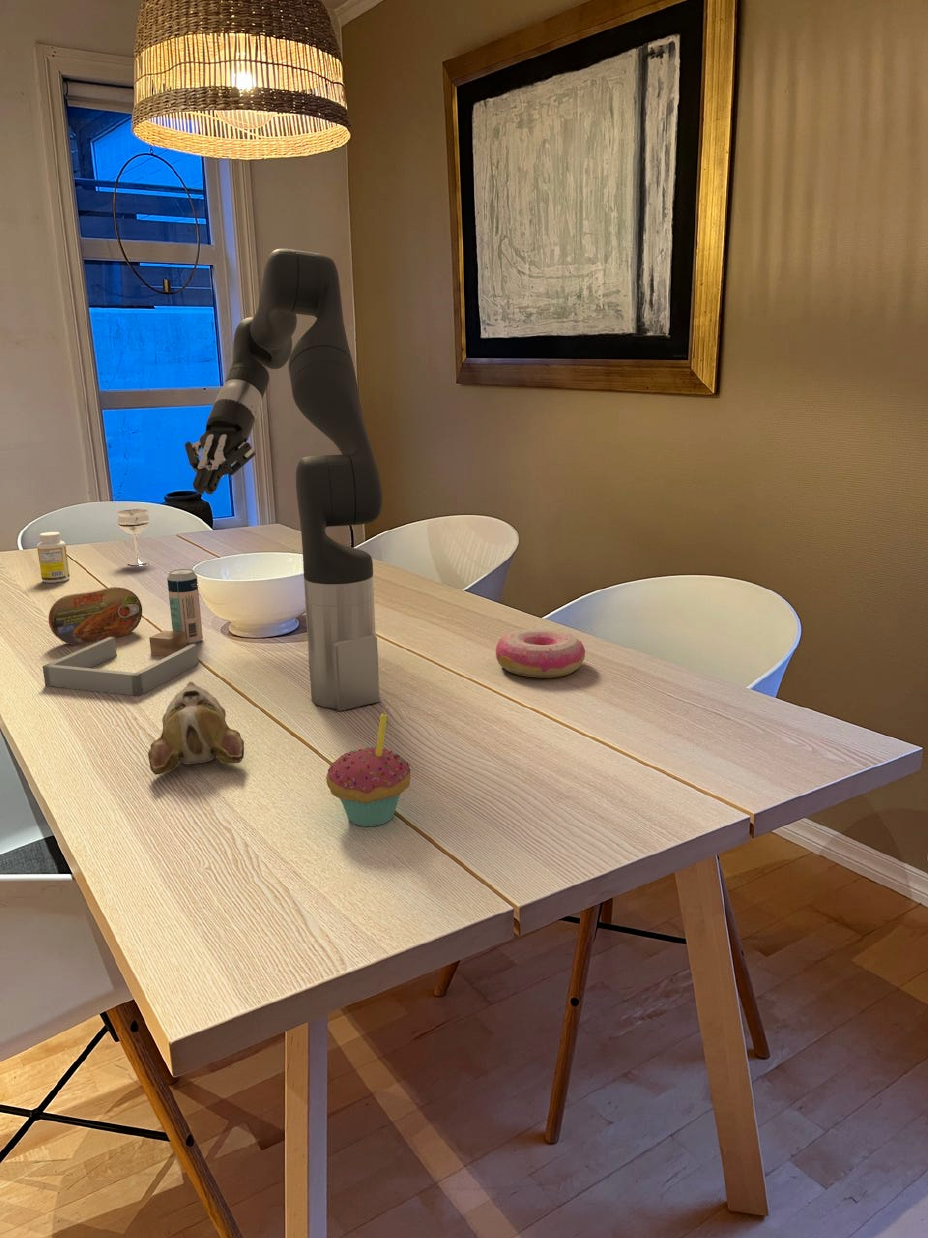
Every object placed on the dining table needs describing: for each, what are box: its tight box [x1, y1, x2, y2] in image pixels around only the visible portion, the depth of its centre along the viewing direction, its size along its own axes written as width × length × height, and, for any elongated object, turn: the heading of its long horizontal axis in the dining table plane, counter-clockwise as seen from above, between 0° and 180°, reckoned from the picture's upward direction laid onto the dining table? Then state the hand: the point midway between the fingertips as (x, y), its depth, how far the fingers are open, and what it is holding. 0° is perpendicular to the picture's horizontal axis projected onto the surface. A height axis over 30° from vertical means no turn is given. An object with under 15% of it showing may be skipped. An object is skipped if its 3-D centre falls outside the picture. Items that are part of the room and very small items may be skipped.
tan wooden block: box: [148, 629, 188, 657], centre depth 152 cm, size 4×4×3 cm
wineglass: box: [117, 508, 150, 564], centre depth 216 cm, size 7×7×12 cm
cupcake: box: [325, 706, 411, 827], centre depth 96 cm, size 9×8×12 cm
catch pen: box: [42, 637, 200, 697], centre depth 141 cm, size 15×16×3 cm
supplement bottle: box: [36, 531, 71, 584], centre depth 200 cm, size 6×6×10 cm
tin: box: [48, 586, 143, 646], centre depth 159 cm, size 15×3×8 cm, turn 129°
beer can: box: [166, 568, 204, 646], centre depth 156 cm, size 5×5×12 cm
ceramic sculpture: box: [147, 681, 245, 776], centre depth 111 cm, size 11×9×15 cm
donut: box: [495, 628, 586, 679], centre depth 141 cm, size 14×13×5 cm
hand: (202, 491), depth 159 cm, fingers closed
